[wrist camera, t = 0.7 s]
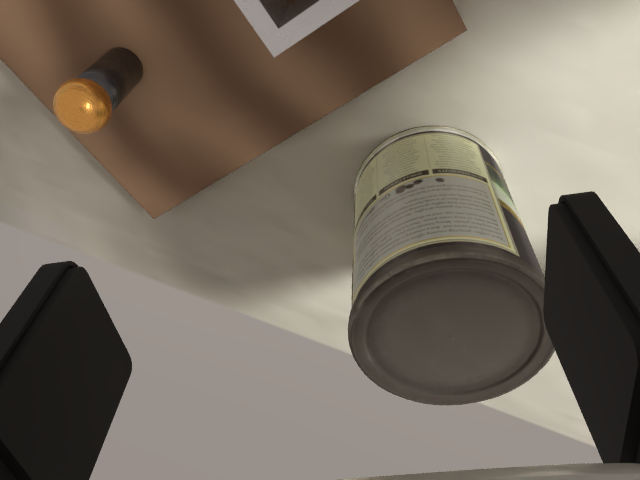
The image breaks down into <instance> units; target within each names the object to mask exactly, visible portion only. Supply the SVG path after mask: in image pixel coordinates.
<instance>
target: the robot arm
mask: <svg viewBox="0 0 640 480" xmlns="http://www.w3.org/2000/svg"><path fill="white" fill-rule="evenodd" d="M543 316H544V322H545V326H546V329H547V332H548V334H549V337H550V339H551V341H552V344H553V346H554V348H555V351H556V353H557V355H558V358H559V360H560V363H561V365H562V367H563V370H564V372H565V374H566V377H567V379H568V381H569V384H570V386H571V388H572V391H573V393H574V395H575V398H576V400H577V402H578V405H579V407H580V409H581V412H582V414H583V417H584V419H585V421H586V424H587V426H588V428H589V431H590V433H591V435H592V438H593V440H594V442H595V445H596V447H597V449H598V452H599V454H600V456H601V459H602V461H603V463H599V464H565V465H546V466H528V467H511V468H493V469H477V470H464V471H463V470H462V471H449V472H435V473H422V474H407V475H393V476H380V477H368V478H367V477H366V478H353V479H338V480H640V253H639V251H638V250H637V248H636V247H635V246H634V244H633V243H632V242H631V240H630V239H629V238H628V236H627V235H626V234H625V232H624V231H623V229H622V228H621V227H620V225H619V224H618V223H617V221H616V220H615V219H614V217H613V216H612V214H611V213H610V212H609V210H608V209H607V208H606V206H605V205H604V204H603V202H602V201H601V200H600V198H599V197H598V195H597V194H596V193H595V192H584V193H577V194H569V195H562V196H561V197H560V198H559V202H558V204H552V205H550V207H549V213H548V231H547V250H546V268H545V287H544V306H543ZM131 371H132V362H131V358H130V355H129V353H128V351H127V349H126V347H125V345H124V343H123V342H122V339H121V337H120V335H119V333H118V331H117V330H116V328H115V326H114V324H113V322H112V320H111V318H110V316H109V314H108V312H107V310H106V308H105V306H104V304H103V302H102V300H101V298H100V296H99V294H98V292H97V290H96V289H95V287H94V285H93V283H92V281H91V279H90V277H89V275H88V273H87V271H86V270H85V269H84V268H83V267H78V265H77V264H76V263H74V262H72V261H66V262H58V263H51V264H45V265H43V266H41V267H40V268H39V270H38V271H37V272H36V274H35V275H34V277H33V278H32V280H31V281H30V282H29V284H28V285H27V286H26V288H25V289H24V291H23V292H22V294H21V295H20V296H19V298H18V299H17V301H16V302H15V304H14V305H13V306H12V308H11V309H10V310H9V312H8V313H7V315H6V316H5V318H4V319H3V320H2V322H1V323H0V480H89V478H90V476H91V473H92V471H93V468H94V466H95V463H96V461H97V458H98V455H99V453H100V451H101V448H102V446H103V443H104V440H105V438H106V435H107V433H108V430H109V428H110V425H111V422H112V420H113V418H114V415H115V413H116V410H117V407H118V405H119V403H120V400H121V397H122V395H123V392H124V390H125V387H126V385H127V382H128V380H129V377H130V375H131Z"/></svg>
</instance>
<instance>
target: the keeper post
mask: <svg viewBox="0 0 640 480" xmlns="http://www.w3.org/2000/svg"><path fill="white" fill-rule="evenodd" d="M142 77H143V66H142V63H141V61H140V59H139V58H138V57H137V55H136V54H134V53H133V52H132V51H130V50H129V49H126V48H122V47H115V48H112V49H110V50H109V51H108V52H106V53H105V54H104V55H103V56H102V57H100V58H99V59H98V60H97V61H96V62H94V63H93V64H92V65H91V66H90V67H89V68H87V69H86V70H85V71H84V72H83V73H81V74H80V75H79V76H78V77H77V78H74V79H70V80H68V81H66V82H64V83H63V84H62V85H61V86H60V87H59V88H58V89H57V91H56V93H55V95H54V99H53V108H54V112H55V115H56V117H57V119H58V120H59V121H60V123H61V124H62V125H63V126H65V127H66V128H67V129H69V130H71V131H73V132H76V133H81V134H90V133H94V132H97V131H99V130H100V129H102V128H103V127H104V126H105V125H106V124H107V123H108V121H109V119H110V117H111V113H112V111H113V110H114V109H115V108H116V107H117V106H118V105H119V104H120V103H121V102H122V101H123V99H124V98H125V97H126V96H127V95H128V94H129V93H130V92H131V91H132V90H133V88H134V87H135V86H136V85H137V84H138V83H139V82H140V81H141V79H142Z"/></svg>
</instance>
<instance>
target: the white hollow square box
mask: <svg viewBox="0 0 640 480" xmlns="http://www.w3.org/2000/svg"><path fill="white" fill-rule="evenodd" d="M234 1H235V3H236V4H237V6H238V7H239V8H240V10H241V11H242V13H243V14H244V16H245V17H246V18H247V20H248V21H249V23H250V24H251V25H252V27H253V28H254V30H255V31H256V33H257V34H258V35H259V37H260V38H261V40H262V41H263V43H264V44H265V45H266V47H267V48H268V50H269V51H270V53H271V54H272V55H273V57H276V56H277V55H279V54H280V53H282V52H283V51H285V50H286V49H288V48H289V47H291V46H292V45H294V44H295V43H297V42H298V41H300V40H301V39H303V38H304V37H306V36H307V35H309V34H310V33H312V32H313V31H315V30H316V29H317V28H319V27H320V26H322V25H323V24H325V23H326V22H328V21H329V20H331V19H332V18H334V17H335V16H337V15H338V14H340V13H341V12H343V11H344V10H346V9H347V8H349V7H350V6H352V5H353V4H355V3H356V2H358V1H359V0H294V1H293V2H292V3H290V4H289V2H288V1H287V0H234Z"/></svg>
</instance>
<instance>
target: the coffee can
mask: <svg viewBox="0 0 640 480" xmlns="http://www.w3.org/2000/svg"><path fill="white" fill-rule="evenodd" d="M354 203H355V210H354V242H353V273H352V309H351V312H350V316H349V324H348V339H349V345H350V349H351V352H352V354H353V357H354V359H355V361H356V362H357V364H358V366H359V367H360V368H361V370H362V371H363V372H364V374H365V375H366V376H367V377H368V378H369V379H370V380H372V381H373V382H374V383H376V384H377V385H378V386H379V387H381V388H383V389H385V390H386V391H388V392H390V393H392V394H394V395H397V396H400V397H402V398H405V399H408V400H412V401H415V402H420V403H425V404H433V405H462V404H468V403H475V402H480V401H484V400H488V399H492V398H495V397H498V396H501V395H503V394H505V393H508V392H510V391H512V390H514V389H515V388H517V387H519V386H521V385H522V384H524V383H525V382H527V381H528V380H529V379H531V378H532V377H533V376H535V375H536V374H537V373H538V372H539V370H541V369H542V368H543V367H544V366H545V365H546V363H547V362H548V361H549V359H550V358H551V356H552V355H553V353H554V351H555V348H554V346H553V344H552V341H551V339H550V337H549V334H548V332H547V329H546V326H545V322H544V316H543V306H544V287H545V278H544V275H543V273H542V271H541V268H540V266H539V263H538V261H537V258H536V256H535V253H534V251H533V248H532V246H531V244H530V241H529V239H528V236H527V234H526V231H525V229H524V227H523V224H522V222H521V219H520V217H519V214H518V212H517V209H516V207H515V204H514V202H513V200H512V197H511V195H510V192H509V190H508V187H507V184H506V182H505V180H504V178H503V174H502V170H501V167H500V165H499V162H498V161H497V159H496V157H495V156H494V154H493V153H492V152H491V150H490V149H489V148H488V147H487V146H486V145H485V144H484V143H482V142H481V141H480V140H478V139H477V138H476V137H474V136H472V135H471V134H469V133H466V132H463V131H461V130H458V129H454V128H449V127H441V126H426V127H418V128H413V129H410V130H407V131H404V132H402V133H399V134H396V135H394V136H392V137H391V138H389V139H388V140H386V141H384V142H383V143H382V144H380V145H379V146H378V147H377V148H376V149H375V150H374V151H373V152H372V153H371V154H370V155H369V156H368V158H367V159H366V160H365V161H364V163H363V165H362V167H361V169H360V171H359V173H358V175H357V178H356V182H355V187H354Z"/></svg>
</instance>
